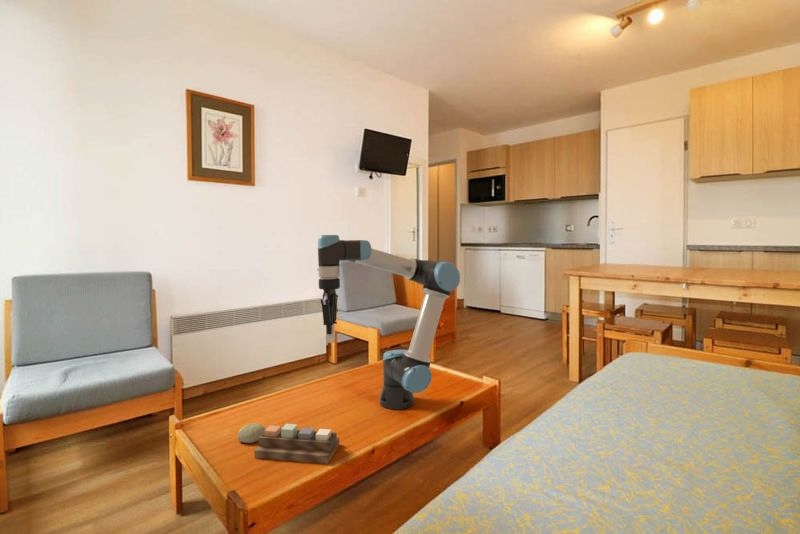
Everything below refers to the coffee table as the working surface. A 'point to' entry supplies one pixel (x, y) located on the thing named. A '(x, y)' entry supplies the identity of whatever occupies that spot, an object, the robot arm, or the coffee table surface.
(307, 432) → the slate key
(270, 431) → the terracotta key
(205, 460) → the coffee table surface
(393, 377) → the robot arm
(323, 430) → the ivory key
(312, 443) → the brown stepped piece
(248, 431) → the sea urchin shell
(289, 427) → the sage key
